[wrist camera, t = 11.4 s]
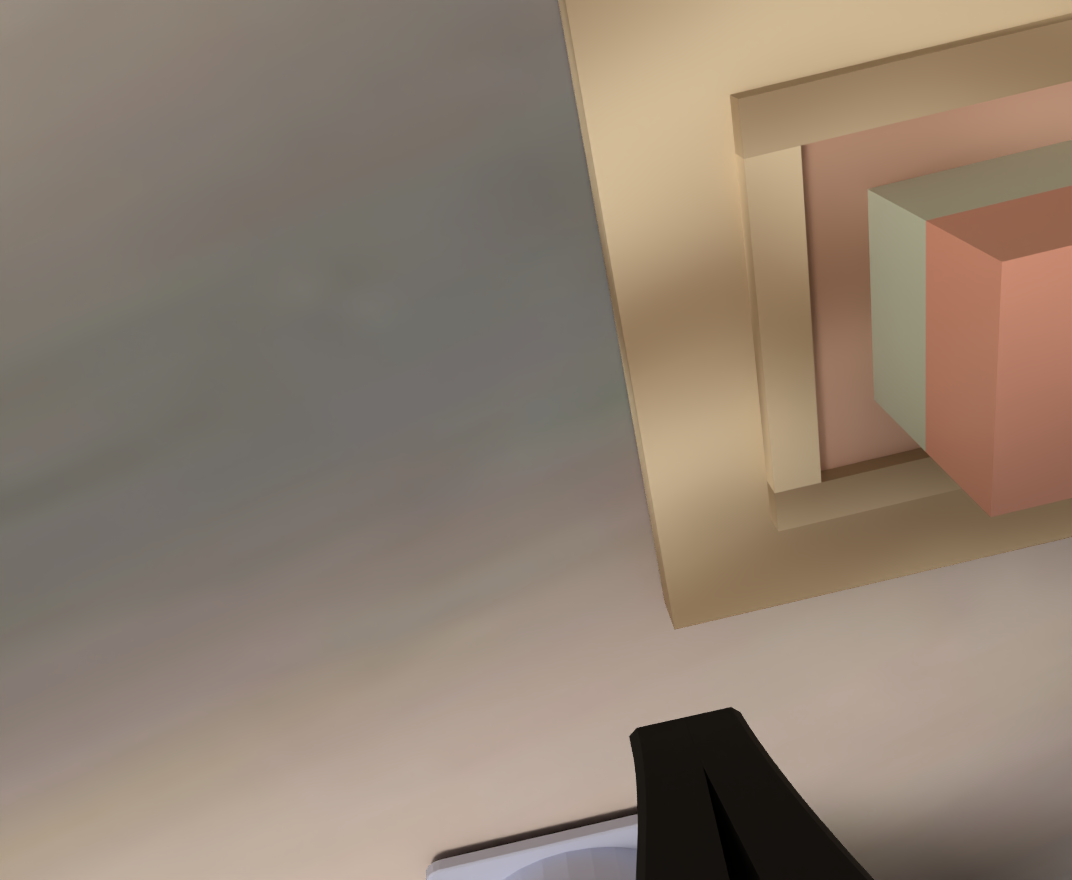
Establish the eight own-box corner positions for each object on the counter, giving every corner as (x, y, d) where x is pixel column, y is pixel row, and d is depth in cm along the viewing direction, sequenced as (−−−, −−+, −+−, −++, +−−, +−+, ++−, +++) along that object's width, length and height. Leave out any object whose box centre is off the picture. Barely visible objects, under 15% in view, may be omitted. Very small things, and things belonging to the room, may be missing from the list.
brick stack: (1083, 349, 18) (1256, 454, 15) (873, 399, 19) (990, 516, 15) (1103, 131, 16) (1311, 186, 12) (867, 189, 16) (1002, 261, 13)
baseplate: (1228, 470, 22) (1279, 504, 20) (664, 602, 22) (679, 644, 21) (1370, -230, 15) (1460, -248, 14) (552, -33, 15) (564, -32, 14)
